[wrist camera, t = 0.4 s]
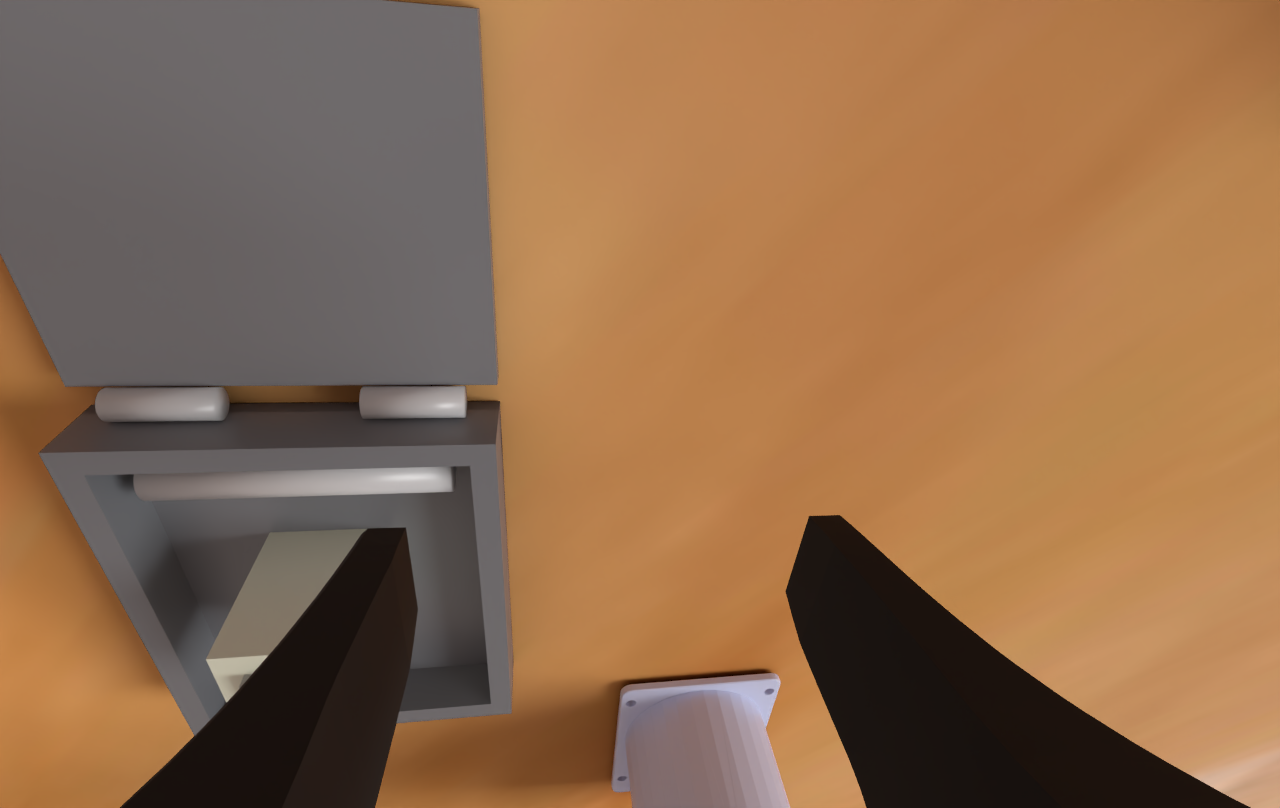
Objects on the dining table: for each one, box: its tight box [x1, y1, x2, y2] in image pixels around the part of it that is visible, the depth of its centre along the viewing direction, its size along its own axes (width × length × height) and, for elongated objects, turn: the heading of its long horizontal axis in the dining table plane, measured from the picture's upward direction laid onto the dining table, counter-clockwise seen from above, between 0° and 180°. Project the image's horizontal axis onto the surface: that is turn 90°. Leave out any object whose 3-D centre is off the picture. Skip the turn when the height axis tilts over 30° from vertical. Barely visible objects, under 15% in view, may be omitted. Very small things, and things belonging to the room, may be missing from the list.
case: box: [39, 401, 513, 736], centre depth 22 cm, size 14×12×2 cm
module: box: [206, 529, 367, 703], centre depth 21 cm, size 4×4×5 cm
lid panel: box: [0, 0, 498, 422], centre depth 16 cm, size 11×12×1 cm
